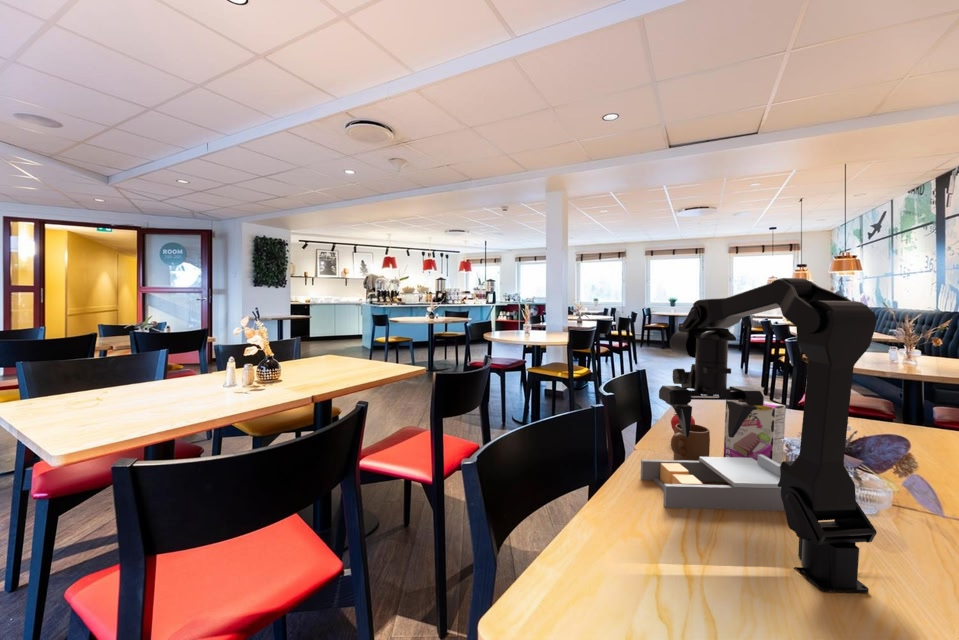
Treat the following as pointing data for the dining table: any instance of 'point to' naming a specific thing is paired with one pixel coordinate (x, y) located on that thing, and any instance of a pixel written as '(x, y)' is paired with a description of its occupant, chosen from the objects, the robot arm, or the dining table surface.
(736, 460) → the lid
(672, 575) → the dining table surface
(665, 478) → the orange cube
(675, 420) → the strawberry
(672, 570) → the dining table surface
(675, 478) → the orange block
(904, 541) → the dining table surface
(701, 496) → the housing
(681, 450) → the mug
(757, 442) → the candy bar box
